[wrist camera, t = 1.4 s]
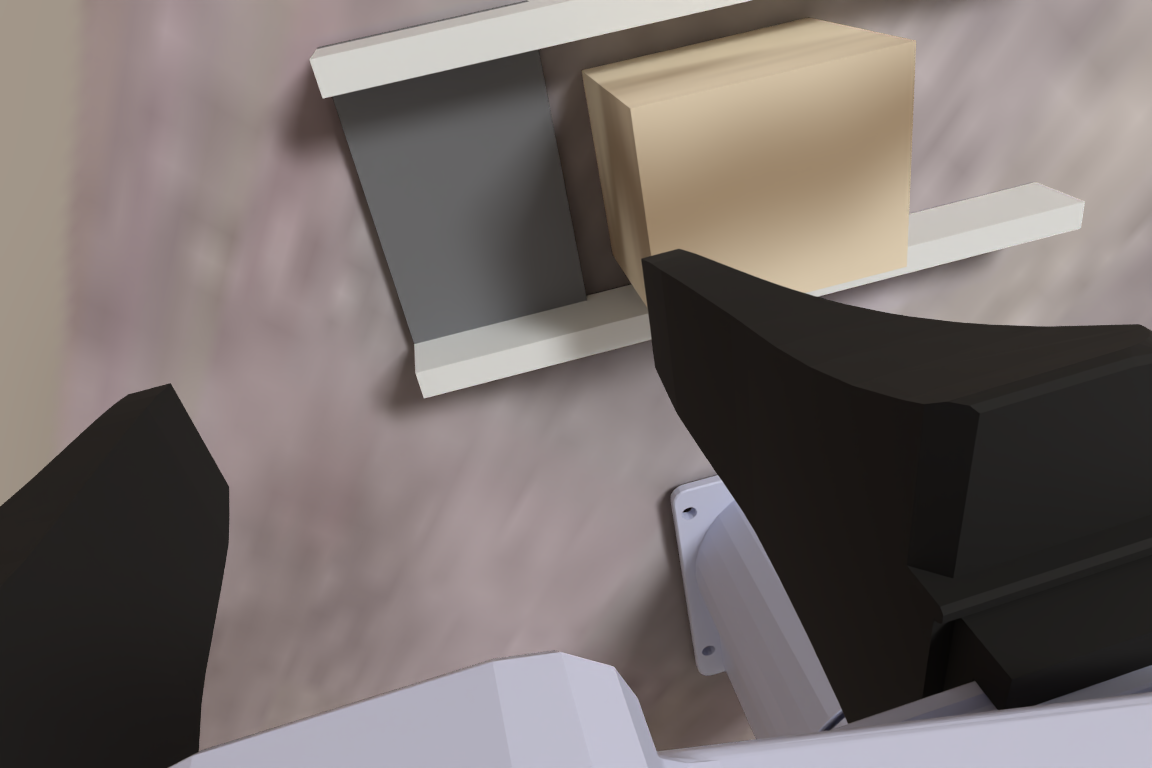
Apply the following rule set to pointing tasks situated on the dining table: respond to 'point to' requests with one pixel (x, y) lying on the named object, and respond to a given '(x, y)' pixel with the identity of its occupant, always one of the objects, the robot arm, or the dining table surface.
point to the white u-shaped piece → (537, 190)
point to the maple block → (760, 153)
